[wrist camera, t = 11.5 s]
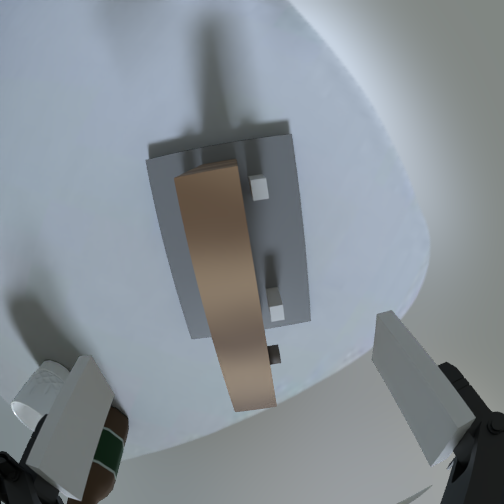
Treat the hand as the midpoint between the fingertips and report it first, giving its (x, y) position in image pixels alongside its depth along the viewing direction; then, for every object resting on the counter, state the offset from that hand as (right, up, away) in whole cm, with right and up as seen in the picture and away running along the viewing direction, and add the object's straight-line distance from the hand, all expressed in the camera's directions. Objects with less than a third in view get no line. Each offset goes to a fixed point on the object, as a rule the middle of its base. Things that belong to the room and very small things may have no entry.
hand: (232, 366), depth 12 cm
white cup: (-28, -14, +22) cm, 39 cm away
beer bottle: (-22, -21, +25) cm, 40 cm away
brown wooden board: (-1, +5, +15) cm, 16 cm away
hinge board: (-1, +6, +16) cm, 17 cm away
